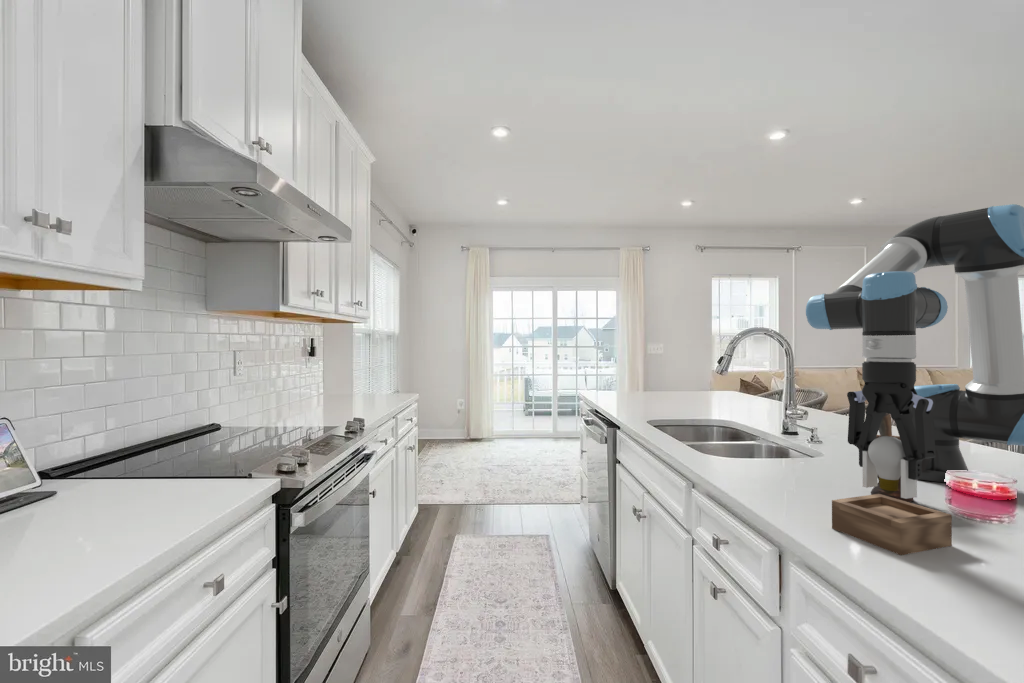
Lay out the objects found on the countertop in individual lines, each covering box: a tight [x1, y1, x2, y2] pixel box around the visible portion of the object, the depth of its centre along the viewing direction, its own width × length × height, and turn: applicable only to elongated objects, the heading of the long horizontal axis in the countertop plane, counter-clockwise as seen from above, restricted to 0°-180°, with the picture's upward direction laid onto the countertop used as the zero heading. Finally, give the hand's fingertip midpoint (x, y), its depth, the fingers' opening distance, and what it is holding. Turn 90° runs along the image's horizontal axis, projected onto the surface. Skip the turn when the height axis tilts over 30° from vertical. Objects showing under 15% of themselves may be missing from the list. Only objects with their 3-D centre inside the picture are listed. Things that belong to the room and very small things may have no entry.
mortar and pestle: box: [870, 413, 914, 503], centre depth 106 cm, size 12×9×20 cm
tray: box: [831, 494, 953, 556], centre depth 86 cm, size 12×12×5 cm
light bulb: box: [868, 436, 906, 494], centre depth 86 cm, size 6×6×10 cm
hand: (888, 491), depth 86 cm, fingers closed on light bulb, 6 cm apart
